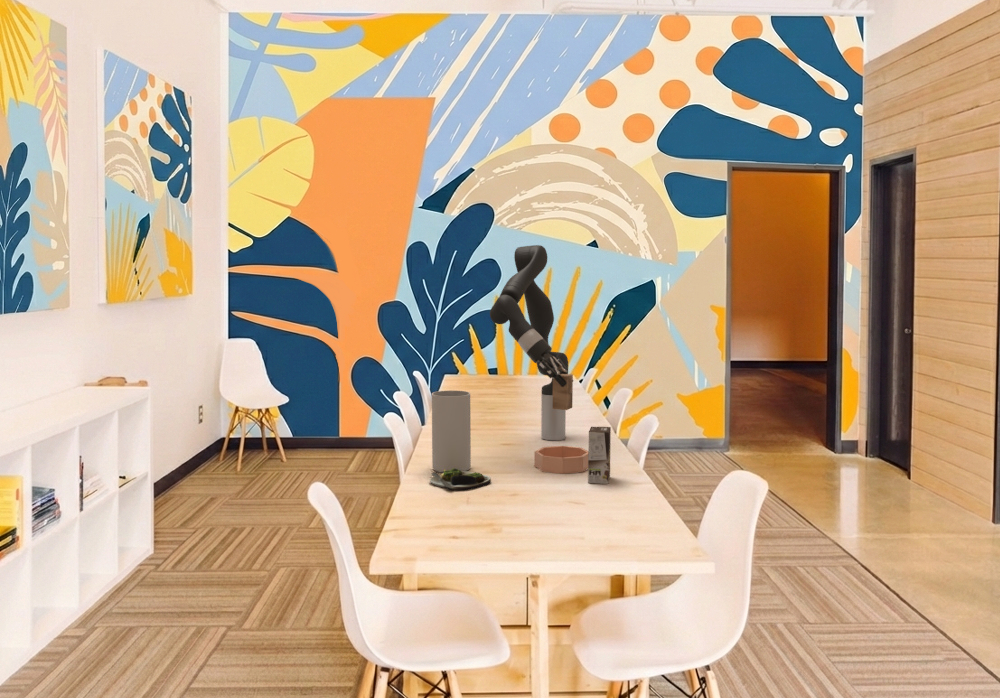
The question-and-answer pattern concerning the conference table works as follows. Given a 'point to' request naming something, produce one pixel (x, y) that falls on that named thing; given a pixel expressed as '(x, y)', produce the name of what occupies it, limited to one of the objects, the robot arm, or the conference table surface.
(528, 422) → the conference table surface
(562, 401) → the walnut block
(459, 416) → the cylinder vase
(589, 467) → the coffee box
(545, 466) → the bowl
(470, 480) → the salad plate
